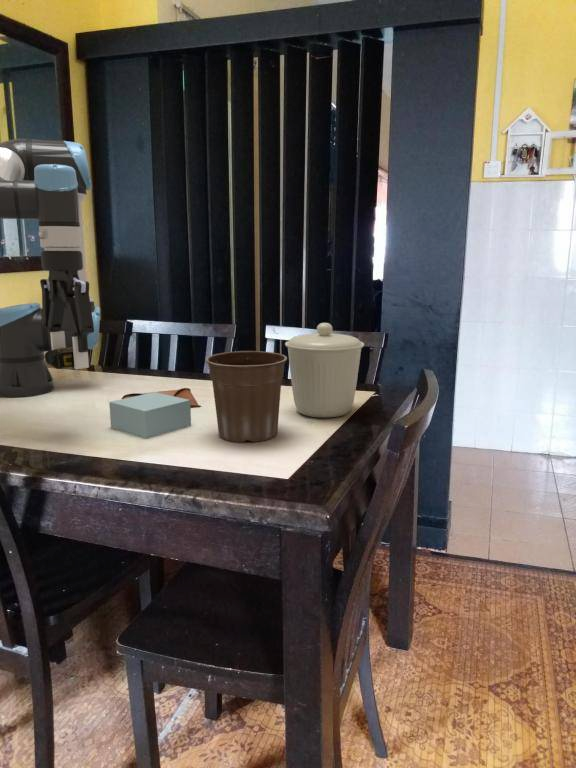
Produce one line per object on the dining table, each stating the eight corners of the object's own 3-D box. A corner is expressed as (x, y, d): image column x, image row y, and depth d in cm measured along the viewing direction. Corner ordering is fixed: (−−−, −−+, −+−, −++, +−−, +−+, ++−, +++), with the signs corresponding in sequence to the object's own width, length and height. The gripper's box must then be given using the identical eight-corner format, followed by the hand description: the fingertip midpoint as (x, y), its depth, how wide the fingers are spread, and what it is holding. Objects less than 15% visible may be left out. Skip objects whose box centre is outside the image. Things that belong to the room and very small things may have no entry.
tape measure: (44, 367, 121) (43, 348, 120) (79, 363, 124) (77, 345, 123) (53, 372, 115) (51, 353, 114) (88, 368, 119) (87, 350, 118)
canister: (335, 427, 127) (336, 329, 123) (269, 414, 138) (268, 323, 133) (376, 410, 141) (379, 322, 137) (313, 399, 152) (314, 317, 147)
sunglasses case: (130, 416, 136) (125, 388, 138) (124, 425, 142) (118, 398, 143) (203, 406, 145) (197, 380, 147) (194, 415, 151) (189, 390, 152)
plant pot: (257, 452, 112) (256, 367, 108) (191, 438, 120) (188, 359, 117) (301, 430, 125) (301, 355, 122) (239, 419, 134) (238, 348, 130)
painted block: (111, 429, 127) (109, 402, 126) (155, 417, 136) (154, 392, 135) (146, 439, 120) (144, 411, 119) (191, 426, 129) (190, 400, 128)
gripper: (16, 249, 118) (27, 362, 124) (72, 250, 106) (82, 375, 111) (51, 249, 124) (60, 357, 129) (108, 250, 112) (116, 369, 117)
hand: (70, 365), depth 120 cm, fingers closed on tape measure, 7 cm apart
